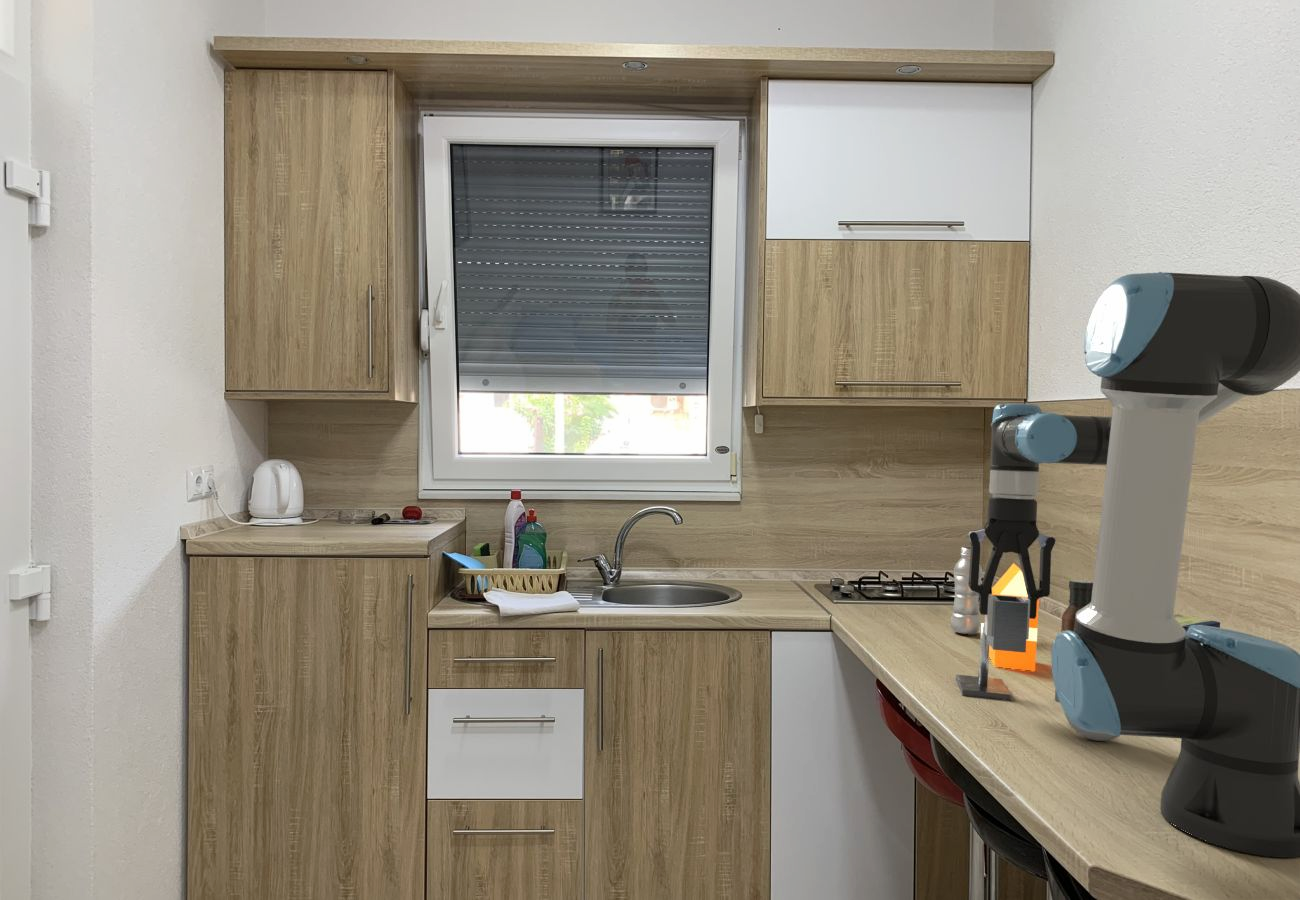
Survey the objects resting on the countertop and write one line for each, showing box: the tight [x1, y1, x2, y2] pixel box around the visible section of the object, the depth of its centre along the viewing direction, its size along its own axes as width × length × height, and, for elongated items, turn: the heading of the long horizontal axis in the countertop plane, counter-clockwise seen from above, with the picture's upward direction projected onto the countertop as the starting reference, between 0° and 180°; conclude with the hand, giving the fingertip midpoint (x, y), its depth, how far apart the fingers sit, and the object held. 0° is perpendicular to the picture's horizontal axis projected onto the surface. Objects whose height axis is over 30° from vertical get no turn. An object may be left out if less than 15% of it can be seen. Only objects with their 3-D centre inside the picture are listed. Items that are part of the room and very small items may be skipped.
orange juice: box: [989, 562, 1040, 672], centre depth 177 cm, size 8×9×20 cm
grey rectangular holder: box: [987, 593, 1028, 653], centre depth 146 cm, size 7×5×8 cm
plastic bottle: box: [950, 546, 983, 635], centre depth 203 cm, size 6×7×20 cm
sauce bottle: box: [1060, 579, 1093, 633], centre depth 162 cm, size 7×6×20 cm
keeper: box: [955, 622, 1012, 701], centre depth 158 cm, size 10×8×12 cm
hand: (1006, 635), depth 146 cm, fingers closed on grey rectangular holder, 5 cm apart
